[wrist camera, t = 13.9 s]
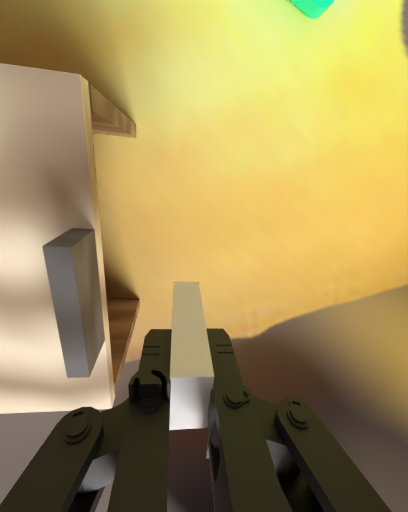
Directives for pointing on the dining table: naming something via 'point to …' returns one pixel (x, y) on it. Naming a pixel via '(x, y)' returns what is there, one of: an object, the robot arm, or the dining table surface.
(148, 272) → the dining table surface
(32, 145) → the lid
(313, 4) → the camera mount
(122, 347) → the housing
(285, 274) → the dining table surface
